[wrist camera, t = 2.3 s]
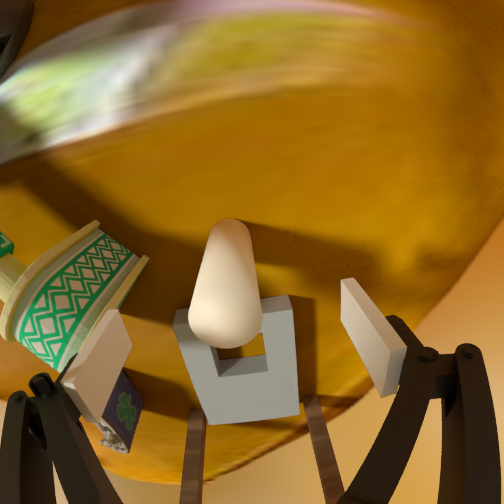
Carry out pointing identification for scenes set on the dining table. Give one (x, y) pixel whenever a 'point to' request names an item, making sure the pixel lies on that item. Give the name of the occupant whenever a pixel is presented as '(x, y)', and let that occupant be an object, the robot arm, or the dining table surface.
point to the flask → (121, 415)
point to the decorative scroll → (64, 292)
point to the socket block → (245, 370)
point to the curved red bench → (320, 441)
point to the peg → (226, 289)
